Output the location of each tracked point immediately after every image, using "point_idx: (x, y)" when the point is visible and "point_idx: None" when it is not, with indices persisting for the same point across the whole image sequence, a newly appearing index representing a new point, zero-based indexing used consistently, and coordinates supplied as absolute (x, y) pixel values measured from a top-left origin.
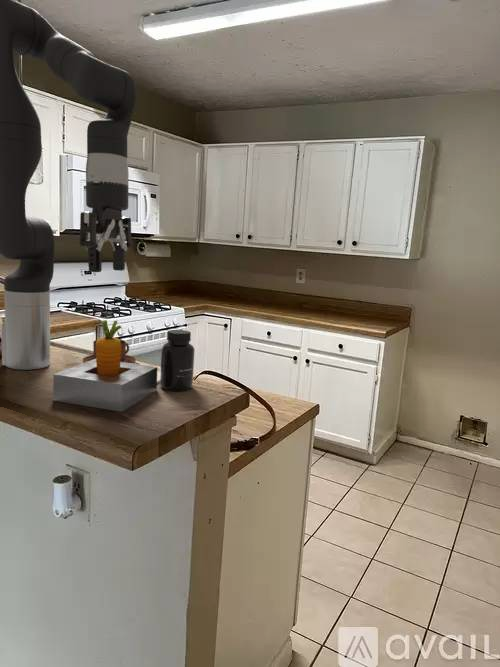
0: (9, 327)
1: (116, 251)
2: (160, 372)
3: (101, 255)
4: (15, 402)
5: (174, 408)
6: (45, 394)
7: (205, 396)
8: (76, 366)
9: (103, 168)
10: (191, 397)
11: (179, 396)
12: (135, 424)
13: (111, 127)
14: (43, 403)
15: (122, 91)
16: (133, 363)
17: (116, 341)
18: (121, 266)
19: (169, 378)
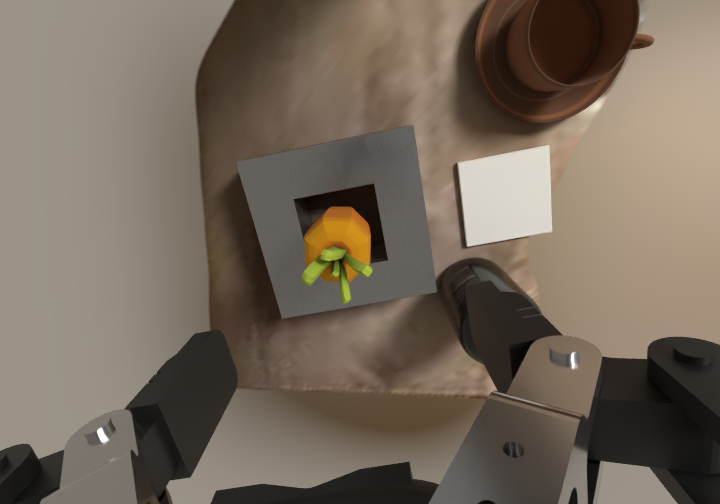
0: None
1: (509, 374)
2: (543, 207)
3: (202, 453)
4: (197, 106)
5: (361, 348)
6: (268, 111)
7: (450, 355)
8: (318, 149)
9: None
10: (430, 340)
11: (422, 321)
12: (266, 342)
13: None
14: (231, 155)
15: None
16: (561, 118)
17: (337, 279)
18: (479, 345)
19: (443, 303)
